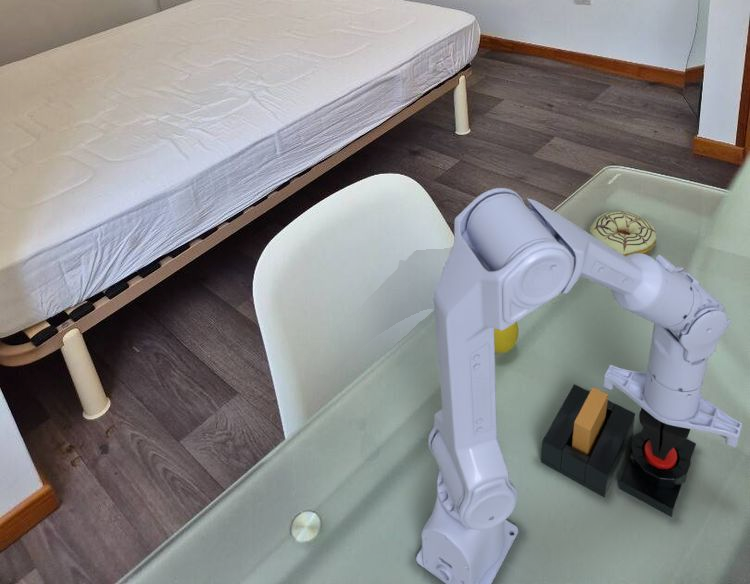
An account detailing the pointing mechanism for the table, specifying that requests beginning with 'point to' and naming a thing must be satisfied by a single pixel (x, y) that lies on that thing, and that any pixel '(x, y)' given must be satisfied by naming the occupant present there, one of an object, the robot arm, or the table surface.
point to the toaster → (606, 453)
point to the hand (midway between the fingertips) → (660, 451)
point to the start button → (664, 465)
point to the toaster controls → (656, 475)
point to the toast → (590, 422)
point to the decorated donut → (624, 232)
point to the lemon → (505, 338)
